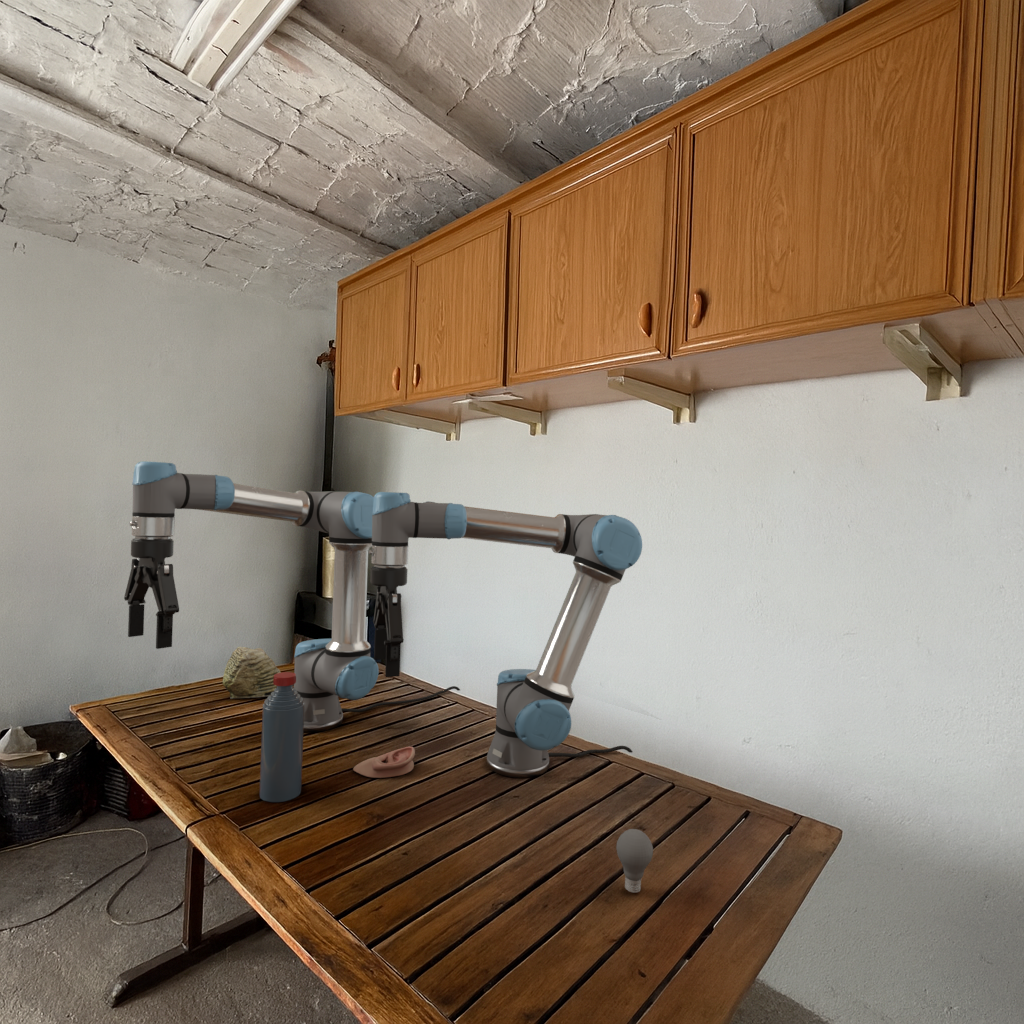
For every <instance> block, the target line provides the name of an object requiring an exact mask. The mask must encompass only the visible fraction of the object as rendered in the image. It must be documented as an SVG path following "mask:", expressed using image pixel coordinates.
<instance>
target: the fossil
mask: <svg viewBox="0 0 1024 1024" xmlns="http://www.w3.org/2000/svg"><path fill="white" fill-rule="evenodd" d="M277 673H282V672H281V669H279V668H278V667H277V665H276V663H275V662H274V660H273V659H272V658H271V657H270V656H269V655H268V654H267V653H266V652H265V650H264V649H263V648H260V647H258V648H251V647H247V646H246V647H245V646H238V647H237V648H236V649H235V650H233V651H232V653H231V656H230V657H229V659H228V660H227V663H226V666H225V668H224V671H223V675H222V676H223V677H222V685H223V687H224V688H225V690H226V691H228V693H229V698H230V699H250V698H264V697H268V696H270V695H271V693H272V692H274V689H276V685H274V684H273V680H274V675H275V674H277Z"/></svg>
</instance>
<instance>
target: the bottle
mask: <svg viewBox="0 0 1024 1024" xmlns="http://www.w3.org/2000/svg"><path fill="white" fill-rule="evenodd" d="M304 706H305V703H304V701H303V698H302V697H300V694H298V692H297V691H295V689H294V684H293V685H290V686H276V689H274V692H272V693H271V695H270V696H267V698H265V700H264V702H263V704H262V713H261V715H262V716H261V737H260V738H261V739H260V740H261V742H260V745H261V746H260V764H259V765H260V767H259V768H260V769H259V791H258V792H259V793H258V794H259V798H260V799H261V800H262V801H263V802H267V803H282V802H287V801H291V800H293V799H296V798H297V797H299V796H300V795H301V793H302V785H303V782H302V781H303V757H304V755H303V754H304V733H305V732H304Z"/></svg>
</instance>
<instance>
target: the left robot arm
mask: <svg viewBox="0 0 1024 1024" xmlns="http://www.w3.org/2000/svg"><path fill="white" fill-rule="evenodd" d="M132 475H133V476H132V484H131V485H132V516H131V521H129V526H130V527H131V535H132V536H133V537H134V538H132V539H131V540H130V556H131V557H132V559H131V566H130V572H129V576H128V580H127V584H126V588H125V592H124V597H123V599H124V601H127V605H128V621H127V622H128V626H127V627H128V628H127V638H134V637H142V636H144V629H145V604H146V603H147V602H146V599H145V598H146V595H147V593H148V590H149V588H151V589H152V594H153V596H154V597H153V598H154V600H155V604H156V606H157V610H158V611H157V612H156V613H155V617H156V630H155V631H156V633H155V649H156V650H161V649H166V648H167V649H168V648H173V627H174V625H173V623H174V615H175V614H176V613H179V612H180V605H179V600H178V594H177V589H176V584H175V578H174V564H173V563H166V561H165V559H166V558H172V557H173V555H174V543H175V542H174V540H173V538H171V537H174V536H175V522H176V521H175V518H176V517H175V516H176V515H175V514H176V513H175V511H176V510H182V509H183V510H198V511H204V512H205V511H206V512H215V513H221V514H230V515H237V516H238V515H239V516H246V517H253V518H261V519H267V520H268V519H269V520H277V521H283V522H290V524H291V525H292V526H295V527H302V528H307V529H311V530H314V531H318V532H321V533H325V534H328V544H330V546H331V547H332V548H333V549H334V561H333V562H334V564H333V589H332V590H333V591H332V616H331V617H332V618H331V619H332V620H331V623H332V624H331V638H318V639H308V640H304V641H300V642H299V643H297V645H296V646H295V650H294V655H293V657H294V672H293V673H295V674H296V683H295V684H293V688H294V689H295V691H297V692H298V694H300V697H302V698H303V701H304V703H305V706H304V733H316V732H325V731H329V730H332V729H335V728H337V727H339V726H340V725H342V723H343V722H344V713H343V712H345V713H346V712H349V713H361V712H366V711H369V710H371V709H373V708H374V709H375V708H377V707H381V706H390V705H402V704H403V705H404V704H409V703H416V702H422V701H426V700H430V699H432V698H434V697H436V696H438V695H443V694H445V693H446V692H449V691H451V690H456V691H458V692H459V691H461V688H460V687H458V686H455V685H453V686H449V687H447V688H445V689H442V690H439V691H436V692H435V693H432V694H430V695H427V696H423V697H418V698H417V697H416V698H412V699H403V700H394V701H383V702H378V703H374V704H371V705H367V706H366V707H363V708H362V707H361V708H344V707H343V708H342V706H341V702H340V699H339V698H341V699H342V700H343V699H344V700H348V701H349V700H350V701H357V700H360V699H362V698H364V697H365V696H367V695H368V694H370V692H371V690H372V689H374V687H375V685H376V683H377V681H378V678H379V674H380V673H379V671H380V670H379V669H380V668H379V665H378V663H377V662H376V660H374V657H371V648H372V646H371V644H370V642H368V640H366V623H367V622H366V621H367V595H368V594H367V593H368V569H369V567H368V566H369V550H370V548H372V513H373V501H374V496H373V495H371V494H370V493H366V492H361V491H337V490H336V491H335V490H330V491H307V490H300V489H299V490H296V491H295V492H291V491H290V492H289V491H284V490H277V489H271V488H266V487H260V486H253V485H247V484H242V483H241V484H240V483H235V482H233V480H232V479H231V478H230V477H229V476H225V475H218V474H202V473H201V474H198V473H182V472H178V471H177V466H176V464H175V463H173V462H163V461H147V460H146V461H144V460H143V461H138V462H137V463H135V465H134V470H133V474H132ZM443 690H444V691H443Z"/></svg>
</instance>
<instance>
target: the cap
mask: <svg viewBox="0 0 1024 1024" xmlns="http://www.w3.org/2000/svg"><path fill="white" fill-rule="evenodd" d="M295 683H296V674H295V673H294V672H292V671H283V672H281V673H277V674H275V675H274V680H273V684H274V685H276V686H290V685H293V686H294V684H295Z"/></svg>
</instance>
